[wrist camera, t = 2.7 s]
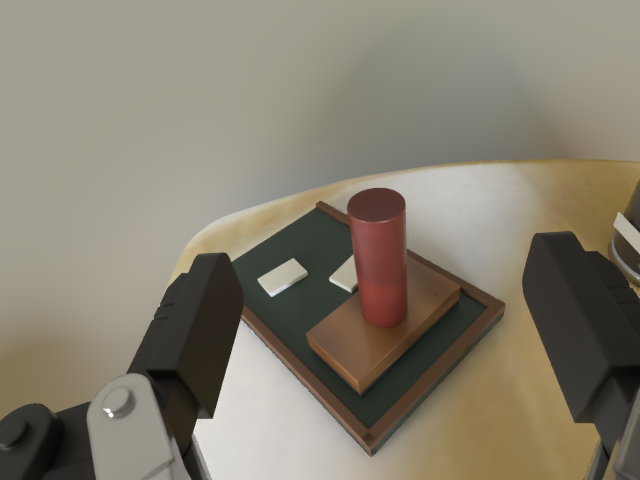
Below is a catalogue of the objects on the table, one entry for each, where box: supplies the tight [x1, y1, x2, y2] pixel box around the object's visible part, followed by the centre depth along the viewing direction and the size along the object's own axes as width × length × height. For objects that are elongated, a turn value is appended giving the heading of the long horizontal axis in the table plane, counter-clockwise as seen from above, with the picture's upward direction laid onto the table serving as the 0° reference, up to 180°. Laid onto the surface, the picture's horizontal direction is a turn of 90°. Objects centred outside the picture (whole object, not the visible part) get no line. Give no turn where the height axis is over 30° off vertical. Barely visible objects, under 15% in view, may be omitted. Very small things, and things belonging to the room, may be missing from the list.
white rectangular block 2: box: [329, 254, 358, 293], centre depth 36 cm, size 4×2×1 cm, turn 139°
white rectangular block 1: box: [258, 258, 308, 297], centre depth 36 cm, size 4×2×1 cm, turn 125°
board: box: [231, 201, 506, 457], centre depth 35 cm, size 15×22×2 cm
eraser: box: [306, 188, 460, 398], centre depth 27 cm, size 11×6×12 cm, turn 131°
